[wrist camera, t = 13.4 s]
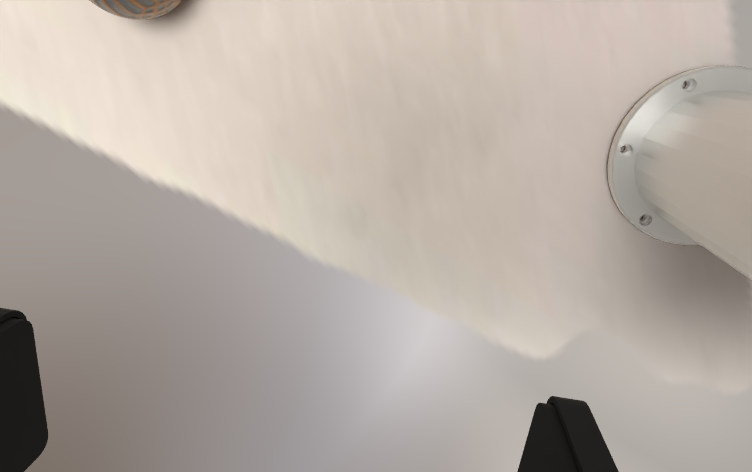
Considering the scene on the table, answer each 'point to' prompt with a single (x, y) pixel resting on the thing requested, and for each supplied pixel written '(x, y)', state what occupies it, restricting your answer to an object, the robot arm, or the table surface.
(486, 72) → the table surface
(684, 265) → the table surface
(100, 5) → the vase
